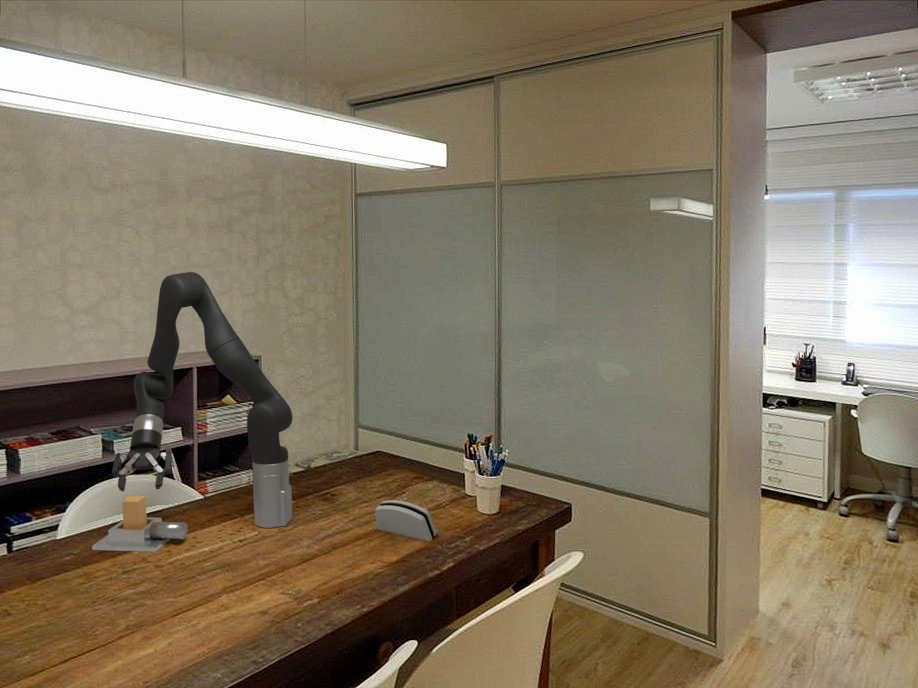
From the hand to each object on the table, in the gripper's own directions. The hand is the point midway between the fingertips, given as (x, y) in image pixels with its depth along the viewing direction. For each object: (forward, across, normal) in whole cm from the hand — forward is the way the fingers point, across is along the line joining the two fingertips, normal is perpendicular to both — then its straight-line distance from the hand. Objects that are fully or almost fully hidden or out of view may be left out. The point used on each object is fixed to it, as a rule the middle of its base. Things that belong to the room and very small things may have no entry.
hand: (139, 489), depth 184 cm
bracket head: (+13, +2, +3) cm, 14 cm away
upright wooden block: (+12, 0, +4) cm, 13 cm away
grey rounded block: (+19, +67, -2) cm, 70 cm away
